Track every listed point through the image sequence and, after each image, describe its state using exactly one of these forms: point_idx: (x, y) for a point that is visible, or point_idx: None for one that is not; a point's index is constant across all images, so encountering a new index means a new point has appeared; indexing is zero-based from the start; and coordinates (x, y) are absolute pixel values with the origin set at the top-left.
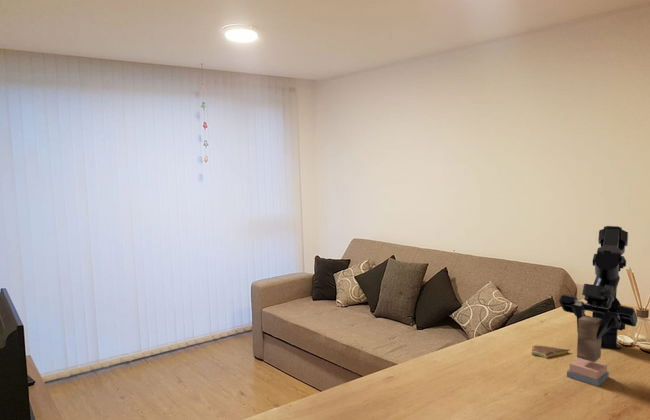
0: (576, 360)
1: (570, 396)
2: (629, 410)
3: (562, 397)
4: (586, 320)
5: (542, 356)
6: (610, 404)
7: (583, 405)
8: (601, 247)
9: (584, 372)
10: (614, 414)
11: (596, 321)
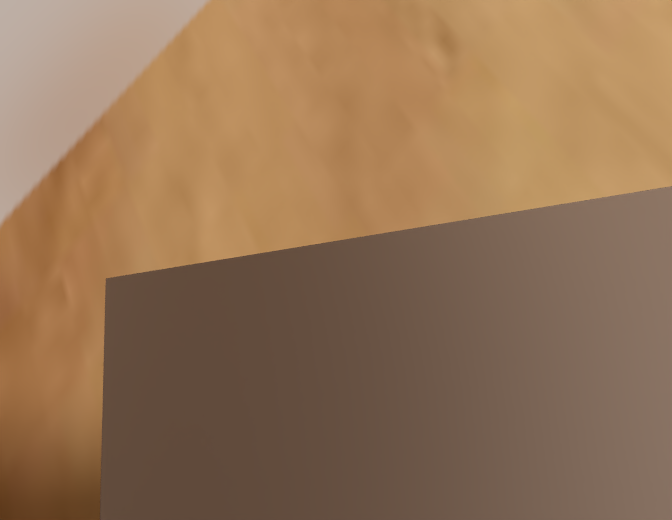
0: None
1: (336, 128)
2: (22, 256)
3: (359, 80)
4: (512, 253)
5: None
6: (127, 233)
7: (231, 97)
8: None
9: None
10: (74, 144)
11: (170, 488)
